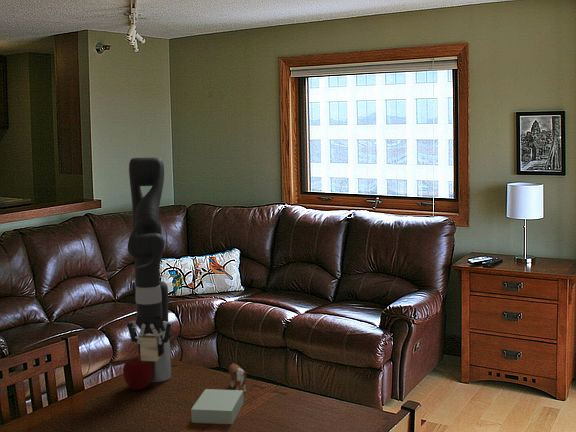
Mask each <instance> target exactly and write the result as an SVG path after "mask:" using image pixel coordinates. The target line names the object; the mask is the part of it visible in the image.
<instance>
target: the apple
mask: <svg viewBox="0 0 576 432" xmlns="http://www.w3.org/2000/svg"><path fill="white" fill-rule="evenodd" d="M122 374H123V378H124V381H125V384H126V385H127V386H128V387H129V388H130V389H131V390H132V391H141V390H144V389H146V388H147V387H148V386H149V384H150V383H151V382H150V381H151V378H152V374H153V367H152V364H151V362H150V361H141V357H134V358H130V359H128V360H127V361H125V363H124V365H123V370H122Z"/></svg>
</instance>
